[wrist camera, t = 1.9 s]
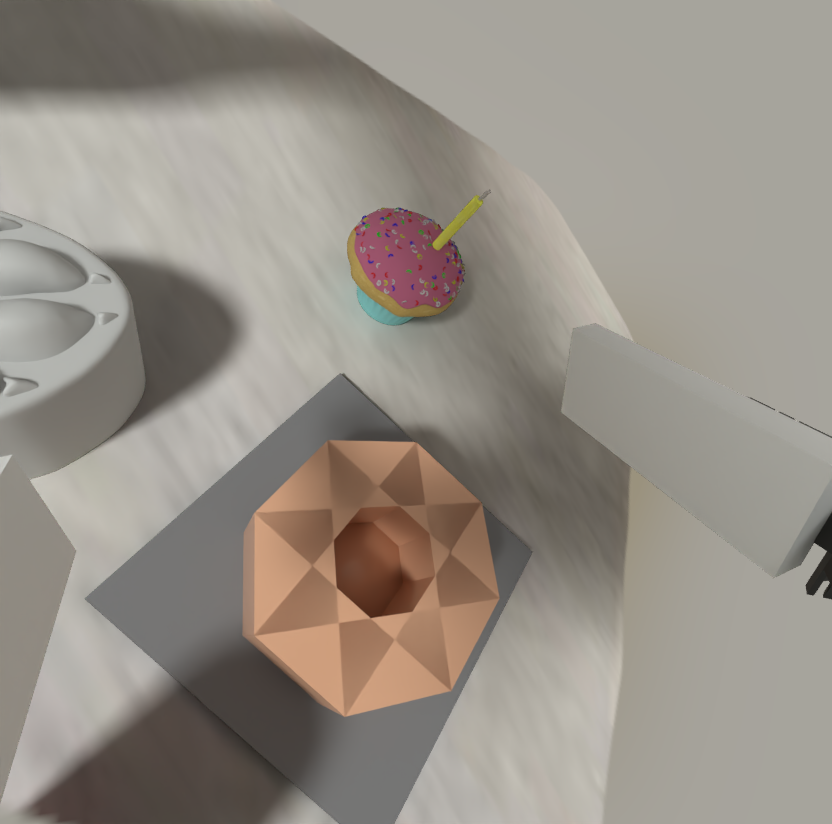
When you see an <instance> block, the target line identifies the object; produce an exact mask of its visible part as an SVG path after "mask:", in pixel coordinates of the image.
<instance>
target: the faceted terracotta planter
mask: <svg viewBox="0 0 832 824" xmlns="http://www.w3.org/2000/svg"><path fill="white" fill-rule="evenodd" d="M499 599H500V598H499V592H498V587H497V582H496V576H495V571H494V566H493V560H492V555H491V550H490V544H489V539H488V534H487V528H486V523H485V518H484V512H483V507H482V502H480V501H479V500H478V499H477V498H476V497H475V496H474V495H473V494H472V493H471V492H470V491H469V490H468V489H466V488H465V487H464V486H463V485H462V484H461V483H460V482H459V481H458V480H457V479H456V478H455V477H454V476H452V475H451V474H450V473H449V472H448V471H447V470H446V469H445V468H444V467H443V466H442V465H441V464H439V463H438V462H437V461H436V460H435V459H434V458H433V457H432V456H431V455H430V454H429V453H428V452H427V451H425V450H424V449H423V448H422V447H421V446H420V445H419V444H418V443H417V442H388V441H340V440H327V442H326V443H325V444H324V445H323V446H322V447H321V448H320V449H319V450H317V451H316V452H315V453H314V454H313V455H312V456H311V457H310V458H309V459H308V460H307V461H306V462H305V463H304V464H303V465H302V466H301V467H300V468H299V469H298V470H297V471H296V472H295V473H294V474H293V475H292V476H291V477H290V478H289V479H288V480H287V481H286V482H285V483H284V484H283V485H282V486H281V487H280V488H279V489H278V490H277V491H276V492H275V493H274V494H273V495H272V496H271V497H270V498H269V499H268V500H267V501H266V502H265V503H264V504H263V505H262V506H261V507H260V508H259V509H258V510H257V511H256V512H255V513H254V515H253V516H252V518H251V520H250V522H249V524H248V526H247V528H246V529H245V531H244V545H243V629H242V636H244V637H245V638H246V639H247V640H248V641H249V642H250V643H251V644H253V645H254V646H255V647H256V648H257V649H258V650H259V651H260V652H262V653H263V654H264V655H265V656H266V657H267V658H268V659H269V660H270V661H272V662H273V663H274V664H275V665H276V666H277V667H278V668H279V669H281V670H282V671H283V672H284V673H285V674H286V675H287V676H288V677H290V678H291V679H292V680H293V681H294V682H295V683H296V684H297V685H298V686H300V687H301V688H302V689H303V690H304V691H305V692H306V693H307V694H309V695H310V696H311V697H312V698H313V699H314V700H315V701H316V702H318V703H319V704H321V705H323V706H325V707H327V708H329V709H331V710H333V711H334V712H336V713H338V714H340V715H342V716H344V717H346V716H350V715H354V714H359V713H363V712H367V711H371V710H375V709H379V708H383V707H387V706H391V705H395V704H400V703H404V702H408V701H412V700H416V699H420V698H424V697H428V696H432V695H436V694H441V693H445V692H449V691H451V690H452V688H453V686H454V685H455V683H456V681H457V679H458V677H459V675H460V673H461V671H462V669H463V667H464V665H465V663H466V662H467V660H468V658H469V656H470V654H471V652H472V650H473V648H474V646H475V644H476V642H477V641H478V639H479V637H480V635H481V633H482V631H483V629H484V627H485V625H486V623H487V621H488V619H489V618H490V616H491V614H492V612H493V610H494V608H495V606H496V604H497V602H498V600H499Z"/></svg>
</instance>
